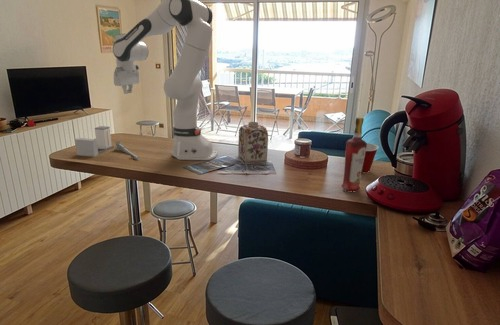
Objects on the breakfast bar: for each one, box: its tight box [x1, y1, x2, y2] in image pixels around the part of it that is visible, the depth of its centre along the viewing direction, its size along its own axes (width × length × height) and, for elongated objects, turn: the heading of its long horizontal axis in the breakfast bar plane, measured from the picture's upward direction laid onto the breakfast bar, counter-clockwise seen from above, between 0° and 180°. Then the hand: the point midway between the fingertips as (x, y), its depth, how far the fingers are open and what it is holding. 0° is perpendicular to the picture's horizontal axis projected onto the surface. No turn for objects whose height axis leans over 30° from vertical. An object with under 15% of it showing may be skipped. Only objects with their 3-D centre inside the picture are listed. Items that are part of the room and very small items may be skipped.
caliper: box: [115, 140, 141, 161], centre depth 160 cm, size 20×1×6 cm, turn 49°
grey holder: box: [74, 137, 115, 158], centre depth 161 cm, size 14×18×9 cm
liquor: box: [341, 116, 368, 193], centre depth 122 cm, size 7×7×28 cm
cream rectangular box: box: [94, 125, 113, 150], centre depth 166 cm, size 5×5×11 cm
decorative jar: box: [237, 121, 269, 163], centre depth 159 cm, size 12×12×18 cm
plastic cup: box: [362, 142, 380, 173], centre depth 146 cm, size 11×11×12 cm
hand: (128, 93), depth 177 cm, fingers open, 3 cm apart
